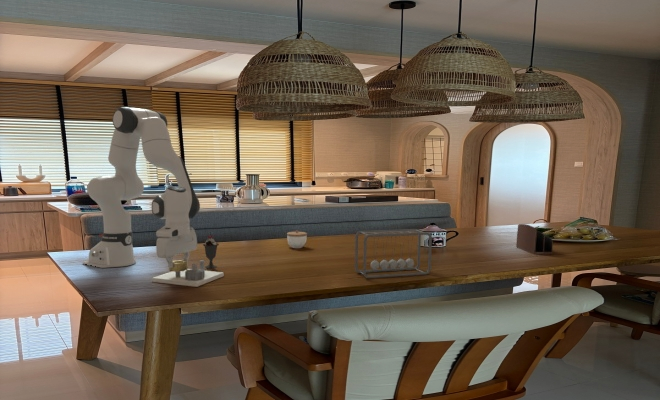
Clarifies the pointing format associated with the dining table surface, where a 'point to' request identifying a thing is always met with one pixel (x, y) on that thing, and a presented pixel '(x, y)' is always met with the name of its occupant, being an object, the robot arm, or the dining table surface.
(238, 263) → the dining table surface
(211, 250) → the sundae
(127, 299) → the dining table surface
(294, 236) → the lidded jar
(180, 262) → the gear
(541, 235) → the letter holder
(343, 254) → the dining table surface
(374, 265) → the newton's cradle
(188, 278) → the gear board
